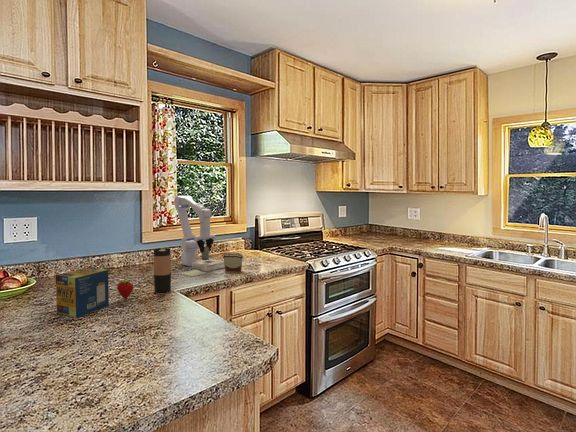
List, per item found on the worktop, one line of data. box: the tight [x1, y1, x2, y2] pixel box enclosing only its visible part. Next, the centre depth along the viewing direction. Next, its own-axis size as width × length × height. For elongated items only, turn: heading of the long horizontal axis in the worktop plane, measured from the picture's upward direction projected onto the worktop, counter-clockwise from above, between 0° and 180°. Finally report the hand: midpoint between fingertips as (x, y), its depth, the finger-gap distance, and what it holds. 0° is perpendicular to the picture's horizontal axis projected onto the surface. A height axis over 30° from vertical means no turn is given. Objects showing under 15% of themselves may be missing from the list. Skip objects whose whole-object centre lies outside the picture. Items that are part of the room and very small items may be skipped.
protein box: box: [55, 266, 110, 319], centre depth 140 cm, size 10×15×16 cm
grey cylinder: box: [200, 245, 210, 260], centre depth 210 cm, size 4×4×8 cm
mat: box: [180, 269, 207, 278], centre depth 200 cm, size 10×10×1 cm
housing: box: [191, 258, 225, 273], centre depth 215 cm, size 14×14×4 cm
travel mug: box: [153, 247, 172, 294], centre depth 166 cm, size 8×8×20 cm
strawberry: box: [116, 278, 134, 300], centre depth 154 cm, size 6×8×10 cm
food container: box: [222, 252, 245, 273], centre depth 208 cm, size 12×6×10 cm, turn 83°
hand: (205, 251), depth 210 cm, fingers closed on grey cylinder, 4 cm apart
